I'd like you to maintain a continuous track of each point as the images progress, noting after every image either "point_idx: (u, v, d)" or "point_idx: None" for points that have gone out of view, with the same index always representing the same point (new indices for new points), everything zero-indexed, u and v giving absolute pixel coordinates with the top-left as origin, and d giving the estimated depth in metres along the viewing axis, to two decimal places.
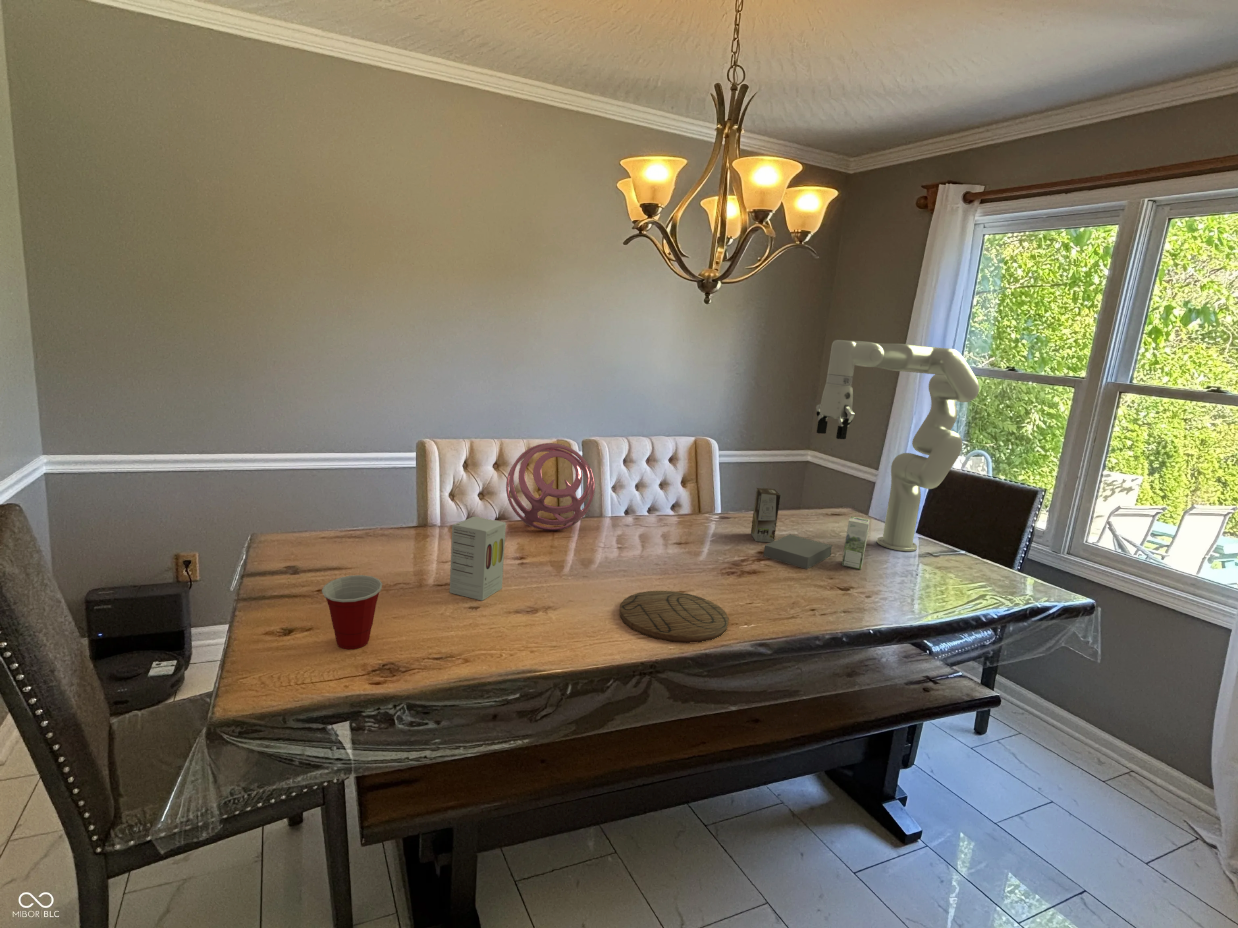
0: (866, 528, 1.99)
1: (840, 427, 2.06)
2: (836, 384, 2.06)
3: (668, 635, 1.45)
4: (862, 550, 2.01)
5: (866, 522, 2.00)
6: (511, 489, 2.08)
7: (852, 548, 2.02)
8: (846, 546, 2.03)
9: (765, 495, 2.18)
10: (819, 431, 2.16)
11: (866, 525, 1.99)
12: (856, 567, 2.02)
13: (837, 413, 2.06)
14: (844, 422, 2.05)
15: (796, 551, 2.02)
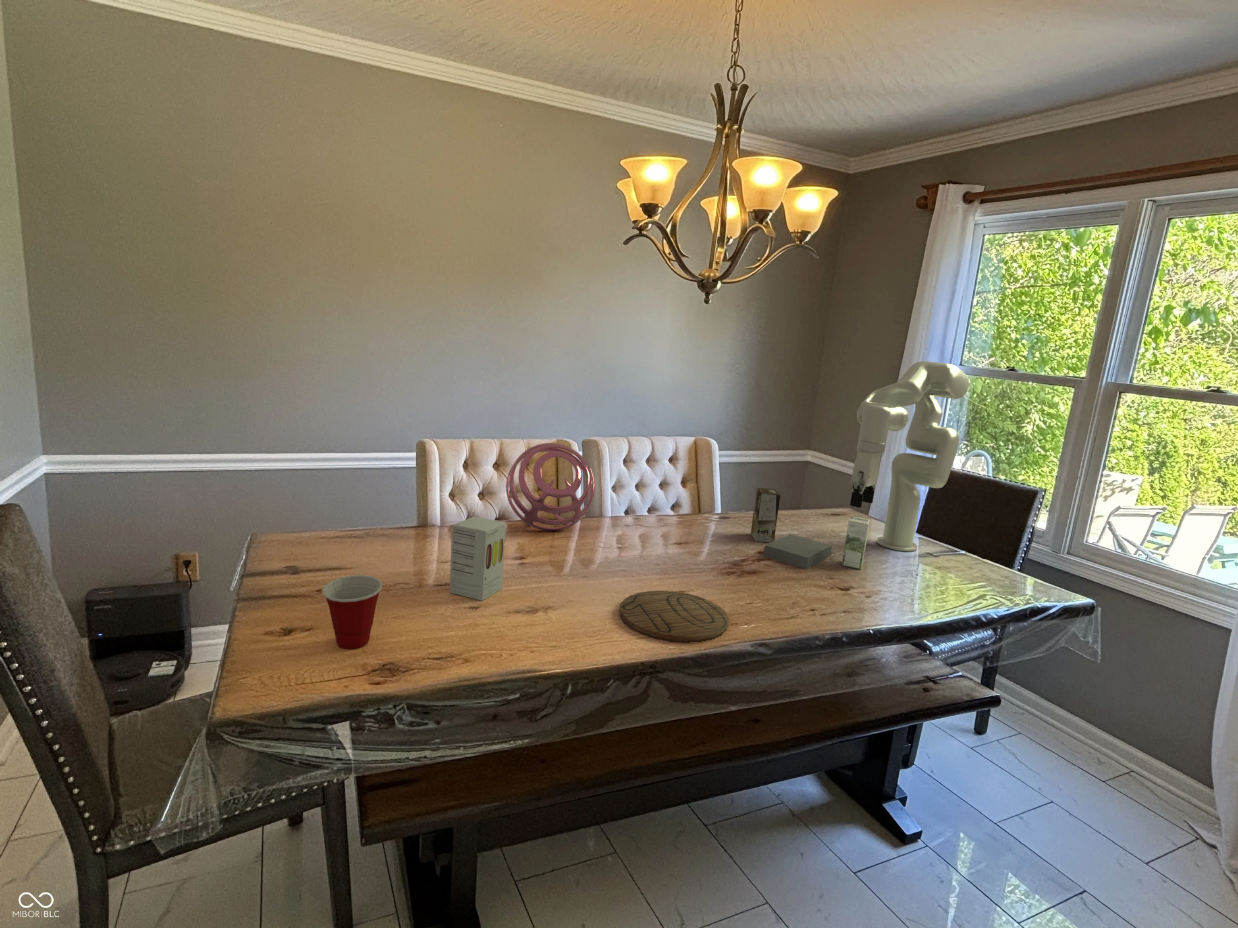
0: (866, 528, 1.99)
1: None
2: None
3: (668, 635, 1.45)
4: (862, 550, 2.01)
5: (866, 522, 2.00)
6: (511, 489, 2.08)
7: (852, 548, 2.02)
8: (846, 546, 2.03)
9: (765, 495, 2.18)
10: None
11: (866, 525, 1.99)
12: (856, 567, 2.02)
13: None
14: None
15: (796, 551, 2.02)
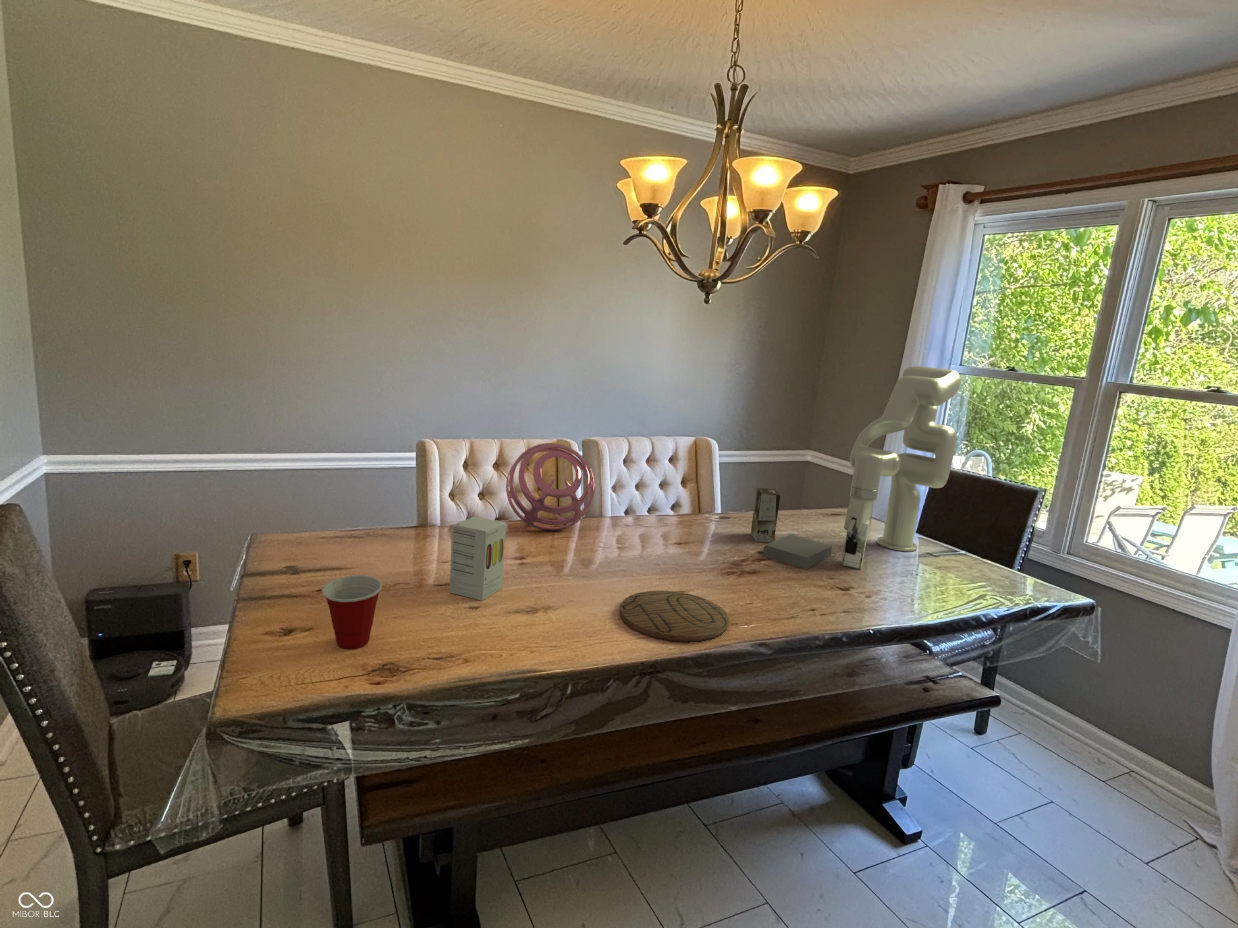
0: (866, 528, 1.99)
1: None
2: None
3: (668, 635, 1.45)
4: (862, 550, 2.01)
5: (866, 522, 2.00)
6: (511, 489, 2.08)
7: None
8: None
9: (765, 495, 2.18)
10: None
11: (866, 525, 1.99)
12: (856, 567, 2.02)
13: (870, 523, 2.05)
14: None
15: (796, 551, 2.02)
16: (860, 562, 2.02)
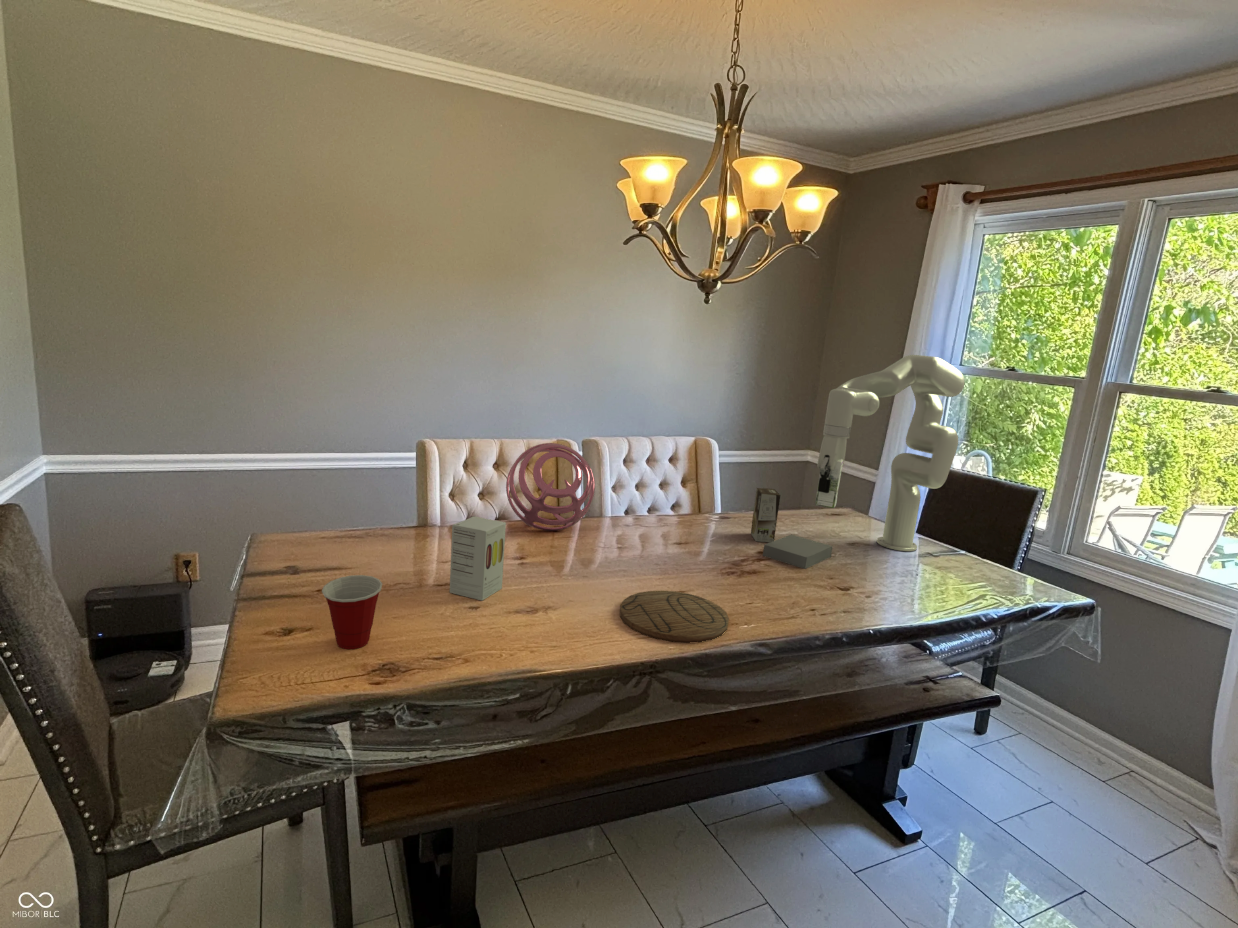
0: (839, 466, 1.98)
1: None
2: None
3: (668, 635, 1.45)
4: (835, 488, 2.00)
5: (839, 460, 1.99)
6: (511, 489, 2.08)
7: None
8: None
9: (765, 495, 2.18)
10: None
11: (839, 463, 1.98)
12: (829, 506, 2.01)
13: (843, 462, 2.04)
14: None
15: (795, 551, 2.02)
16: (833, 501, 2.01)
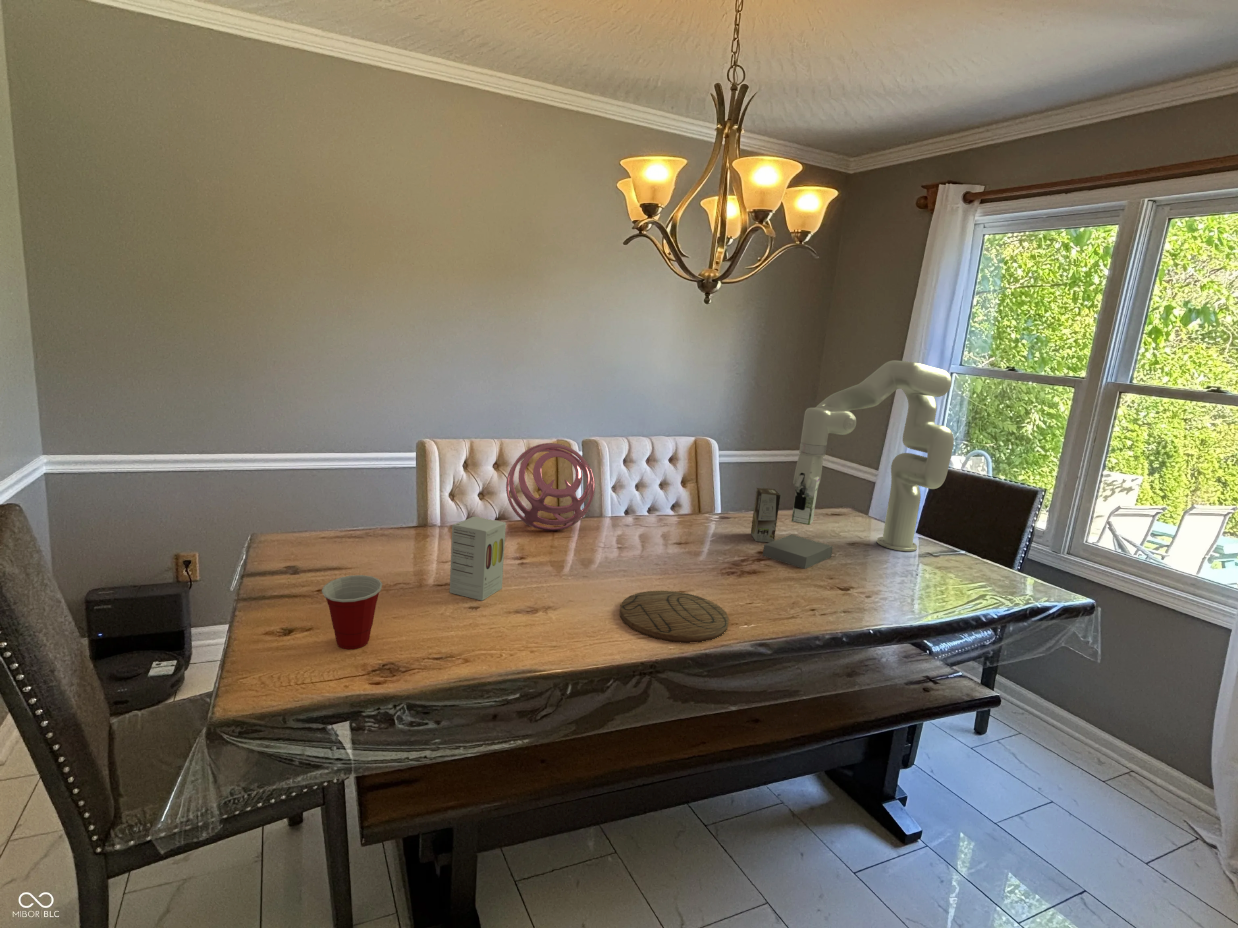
0: (814, 483, 2.01)
1: None
2: None
3: (668, 635, 1.45)
4: (811, 505, 2.03)
5: (815, 478, 2.02)
6: (511, 489, 2.08)
7: None
8: None
9: (765, 495, 2.18)
10: None
11: (814, 480, 2.01)
12: (805, 523, 2.04)
13: (819, 480, 2.07)
14: None
15: (795, 551, 2.02)
16: (809, 518, 2.04)
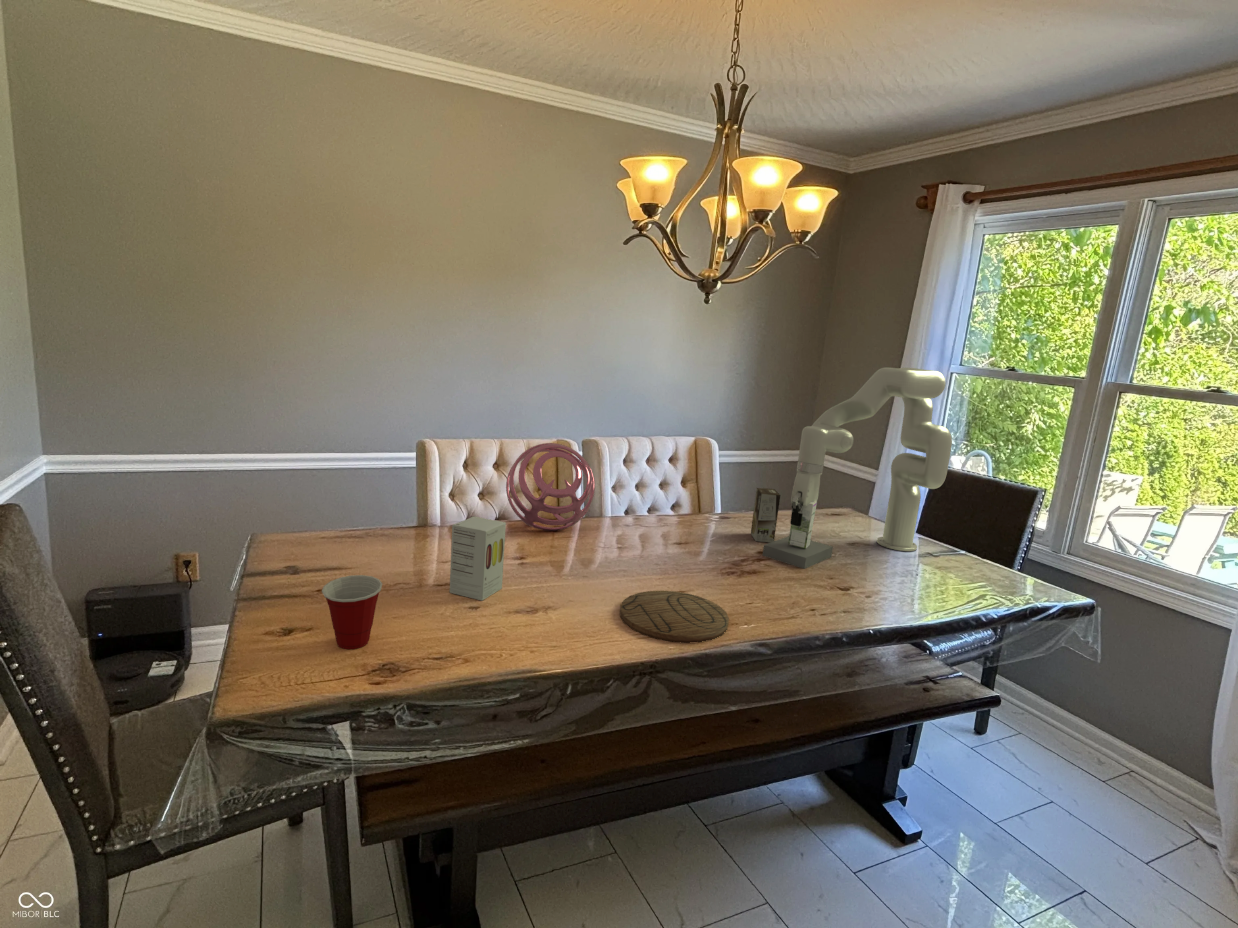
0: (811, 508, 2.03)
1: None
2: None
3: (668, 635, 1.45)
4: (807, 529, 2.05)
5: (811, 502, 2.04)
6: (511, 489, 2.08)
7: (797, 527, 2.06)
8: (792, 525, 2.07)
9: (765, 495, 2.18)
10: None
11: (811, 505, 2.03)
12: (801, 546, 2.06)
13: (817, 497, 2.08)
14: None
15: (795, 552, 2.02)
16: (805, 541, 2.05)
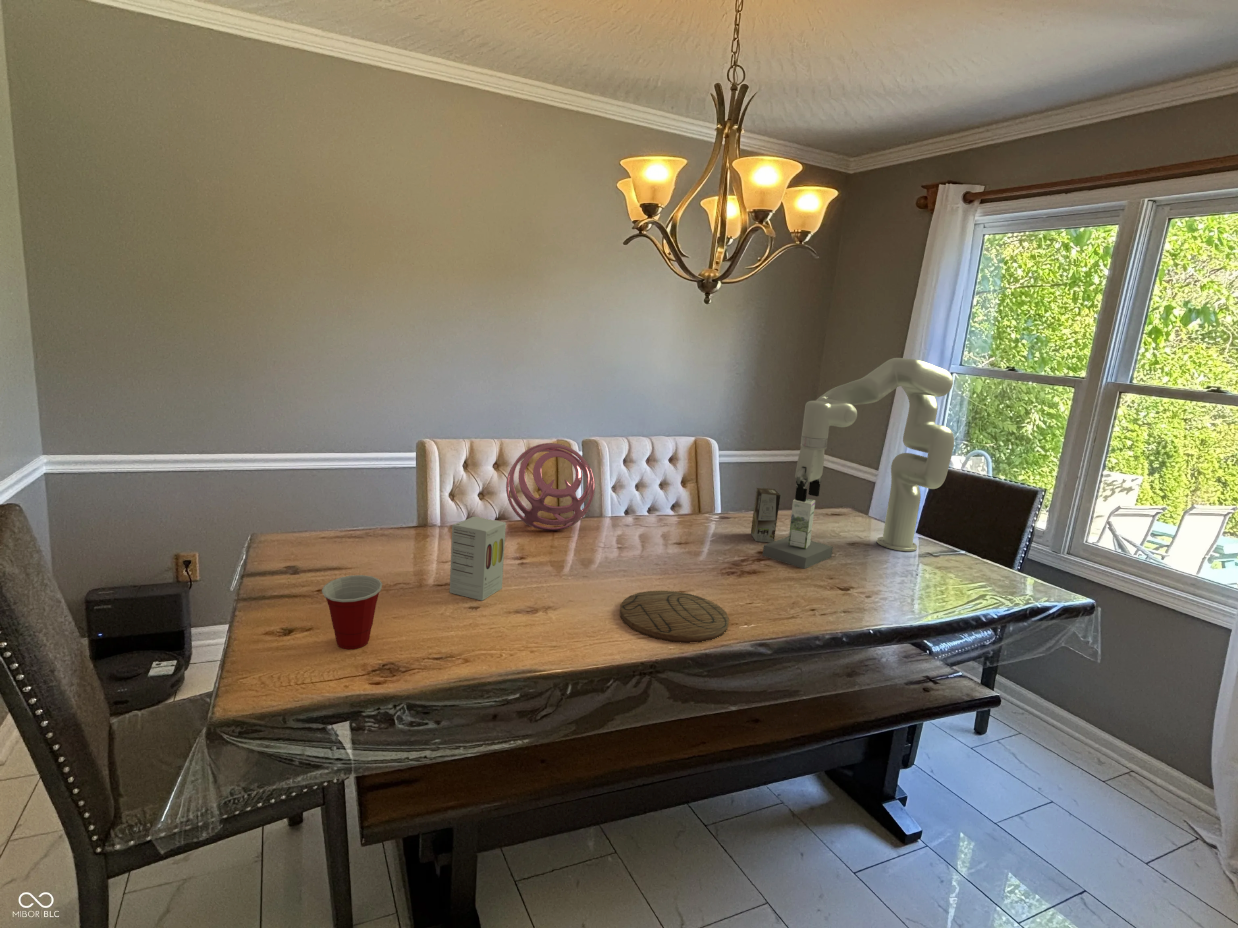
0: (809, 508, 2.03)
1: None
2: None
3: (668, 635, 1.45)
4: (806, 530, 2.05)
5: (810, 502, 2.04)
6: (511, 489, 2.08)
7: (796, 527, 2.06)
8: (791, 526, 2.07)
9: (765, 495, 2.18)
10: None
11: (809, 505, 2.03)
12: (801, 546, 2.06)
13: (821, 473, 2.07)
14: (819, 478, 2.09)
15: (795, 552, 2.02)
16: (805, 541, 2.05)
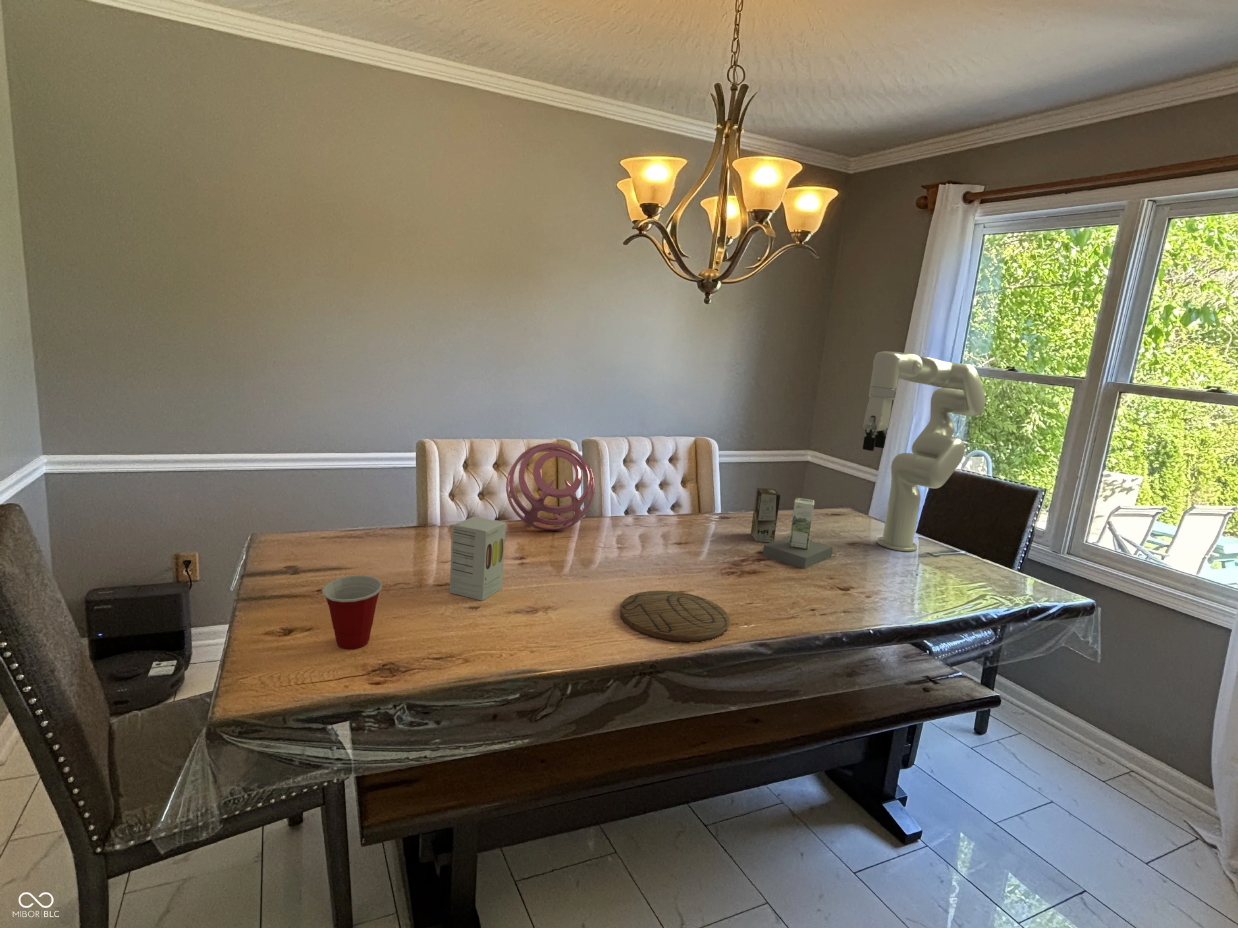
0: (812, 509, 2.03)
1: None
2: None
3: (668, 635, 1.45)
4: (808, 530, 2.04)
5: (811, 503, 2.03)
6: (511, 489, 2.08)
7: (798, 529, 2.05)
8: (793, 527, 2.06)
9: (765, 495, 2.18)
10: None
11: (811, 506, 2.02)
12: (803, 547, 2.06)
13: (888, 424, 2.10)
14: None
15: (795, 552, 2.02)
16: (807, 542, 2.05)
